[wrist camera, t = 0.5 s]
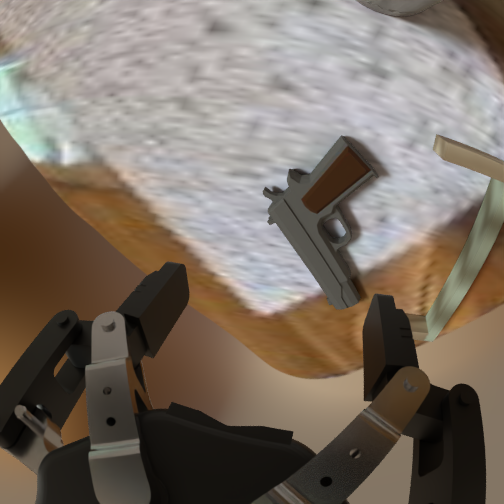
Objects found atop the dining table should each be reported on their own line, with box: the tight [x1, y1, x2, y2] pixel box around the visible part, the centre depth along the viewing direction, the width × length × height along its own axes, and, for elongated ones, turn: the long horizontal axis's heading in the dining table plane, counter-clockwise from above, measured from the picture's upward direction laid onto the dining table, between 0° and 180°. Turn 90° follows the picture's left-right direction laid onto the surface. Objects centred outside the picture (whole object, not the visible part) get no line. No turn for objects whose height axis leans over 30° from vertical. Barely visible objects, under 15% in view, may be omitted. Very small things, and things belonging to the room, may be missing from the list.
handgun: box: [263, 136, 378, 309], centre depth 28 cm, size 3×18×12 cm
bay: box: [405, 134, 504, 341], centre depth 25 cm, size 25×9×3 cm, turn 179°
